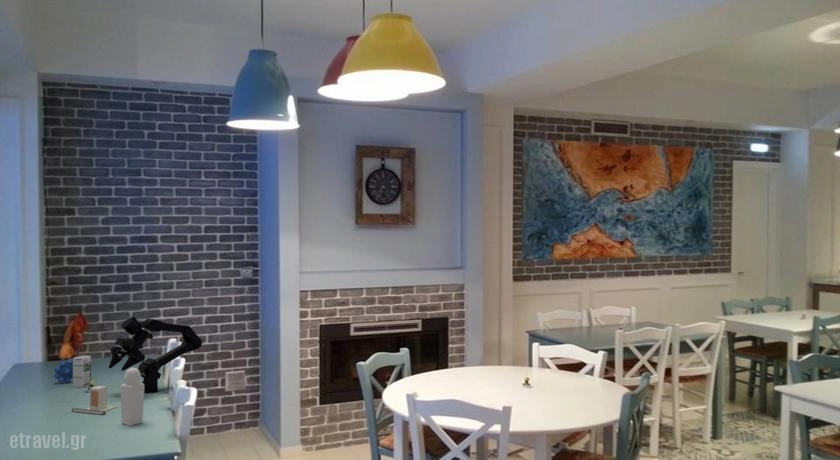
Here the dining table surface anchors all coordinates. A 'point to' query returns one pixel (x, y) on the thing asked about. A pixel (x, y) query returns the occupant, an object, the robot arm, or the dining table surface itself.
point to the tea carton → (98, 398)
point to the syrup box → (81, 371)
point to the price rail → (89, 411)
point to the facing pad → (105, 408)
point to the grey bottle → (132, 398)
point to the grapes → (64, 371)
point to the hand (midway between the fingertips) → (115, 369)
